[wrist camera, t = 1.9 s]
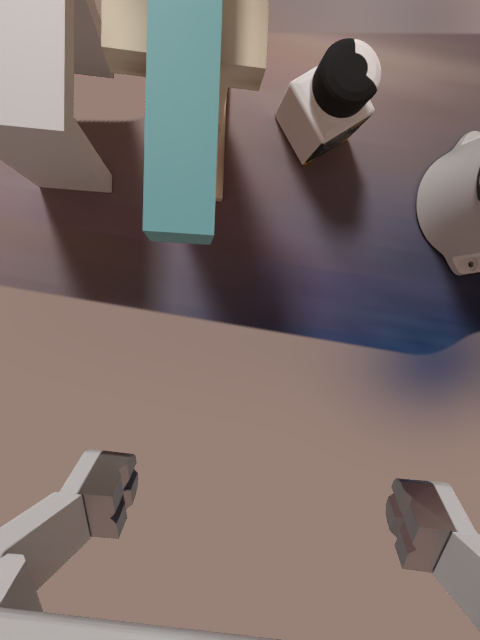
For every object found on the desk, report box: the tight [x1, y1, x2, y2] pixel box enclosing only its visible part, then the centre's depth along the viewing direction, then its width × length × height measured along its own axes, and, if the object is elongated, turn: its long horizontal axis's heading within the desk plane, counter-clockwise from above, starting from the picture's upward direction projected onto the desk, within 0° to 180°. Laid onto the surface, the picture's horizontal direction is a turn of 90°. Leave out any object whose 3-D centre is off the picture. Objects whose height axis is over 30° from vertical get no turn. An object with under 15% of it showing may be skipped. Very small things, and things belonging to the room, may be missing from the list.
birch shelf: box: [101, 0, 269, 201], centre depth 30 cm, size 8×15×26 cm, turn 178°
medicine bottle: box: [275, 38, 381, 165], centre depth 39 cm, size 7×7×12 cm
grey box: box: [0, 0, 114, 193], centre depth 33 cm, size 8×15×16 cm, turn 178°
